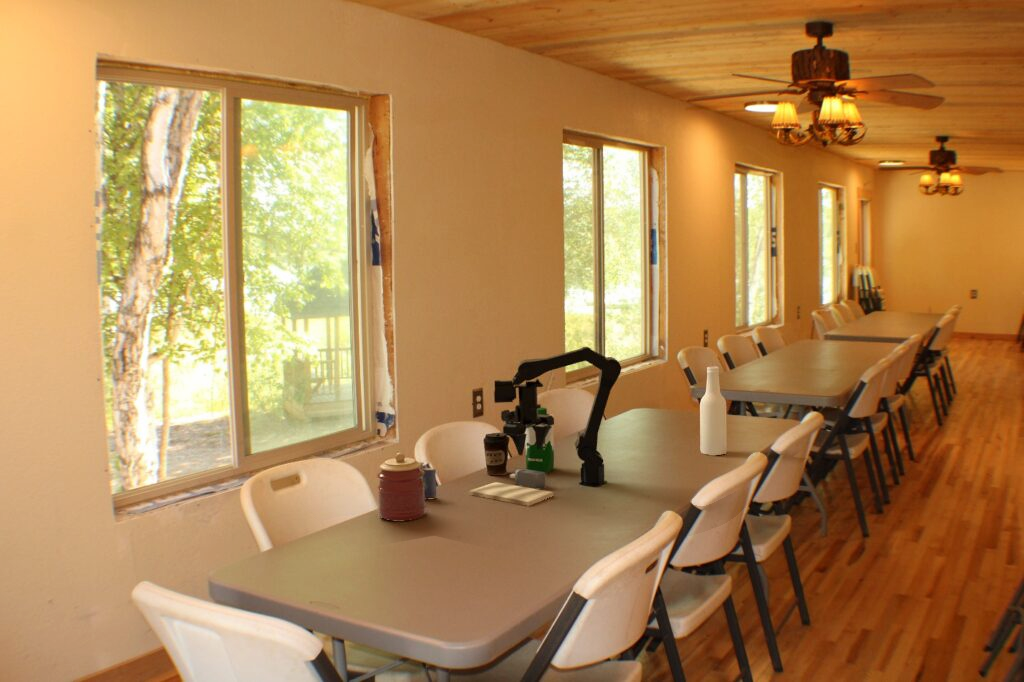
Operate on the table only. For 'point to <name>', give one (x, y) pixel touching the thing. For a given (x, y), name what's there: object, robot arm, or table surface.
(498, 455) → the coffee cup
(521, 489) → the birch board
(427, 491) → the flask
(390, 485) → the canister
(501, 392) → the robot arm
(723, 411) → the alcohol
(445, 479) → the table surface
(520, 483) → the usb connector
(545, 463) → the milk carton
